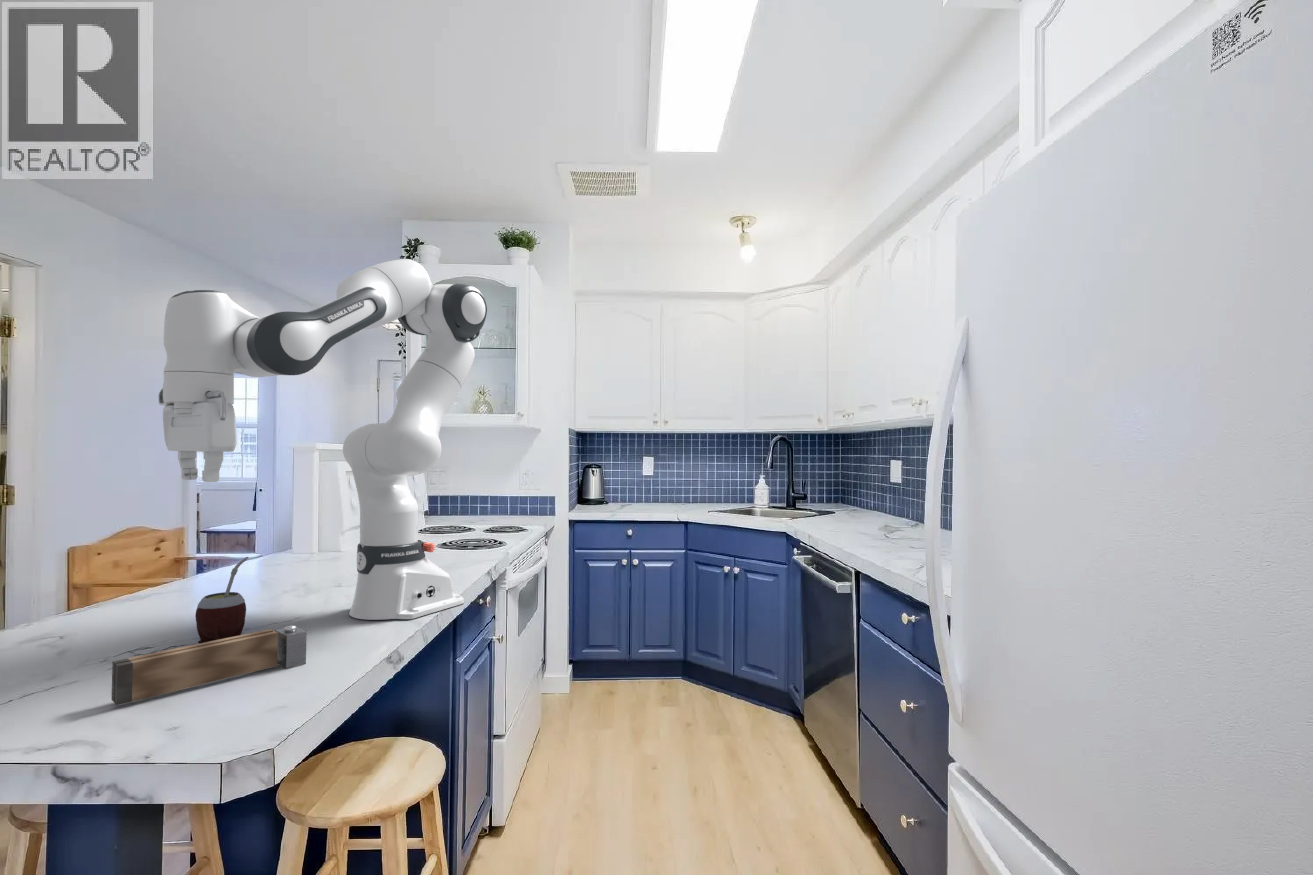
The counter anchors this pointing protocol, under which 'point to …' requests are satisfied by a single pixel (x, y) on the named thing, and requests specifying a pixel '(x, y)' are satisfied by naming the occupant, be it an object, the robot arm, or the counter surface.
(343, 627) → the counter surface
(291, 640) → the block
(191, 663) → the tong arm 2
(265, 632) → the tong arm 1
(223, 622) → the mate gourd
